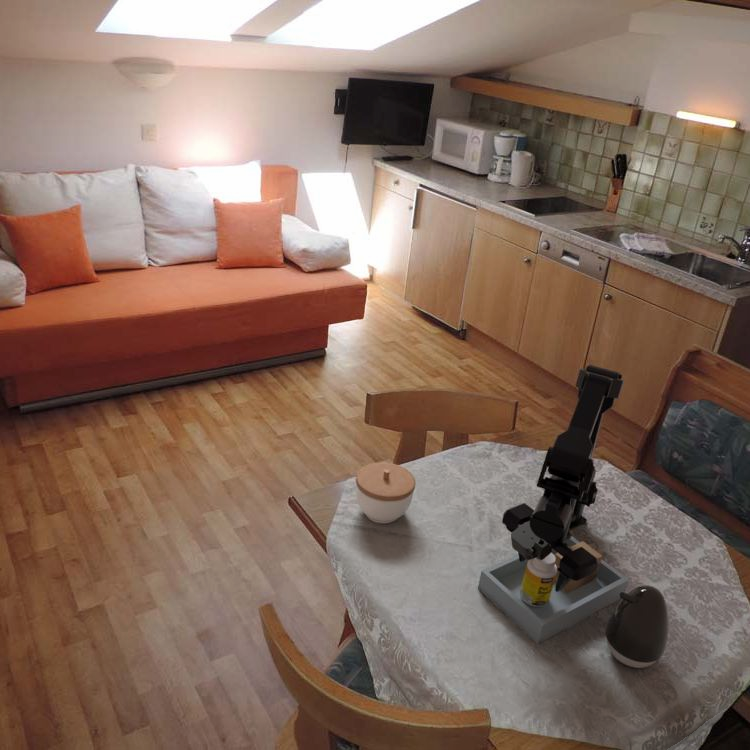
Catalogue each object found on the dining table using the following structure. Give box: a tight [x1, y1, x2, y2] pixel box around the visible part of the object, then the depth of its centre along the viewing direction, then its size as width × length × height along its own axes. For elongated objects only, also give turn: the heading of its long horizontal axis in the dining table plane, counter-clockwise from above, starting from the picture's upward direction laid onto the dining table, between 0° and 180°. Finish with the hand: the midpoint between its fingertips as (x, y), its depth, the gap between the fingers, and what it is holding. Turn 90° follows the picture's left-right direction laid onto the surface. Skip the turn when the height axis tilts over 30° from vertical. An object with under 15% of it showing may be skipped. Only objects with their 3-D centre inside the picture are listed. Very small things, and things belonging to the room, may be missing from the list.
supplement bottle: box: [520, 553, 557, 607], centre depth 141 cm, size 6×6×10 cm
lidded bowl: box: [355, 461, 416, 524], centre depth 162 cm, size 13×13×11 cm
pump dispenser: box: [604, 584, 670, 669], centre depth 131 cm, size 10×10×15 cm
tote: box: [477, 535, 630, 645], centre depth 146 cm, size 24×16×4 cm, turn 125°
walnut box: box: [554, 540, 603, 593], centre depth 148 cm, size 8×5×6 cm, turn 125°
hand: (539, 575), depth 141 cm, fingers open, 9 cm apart
